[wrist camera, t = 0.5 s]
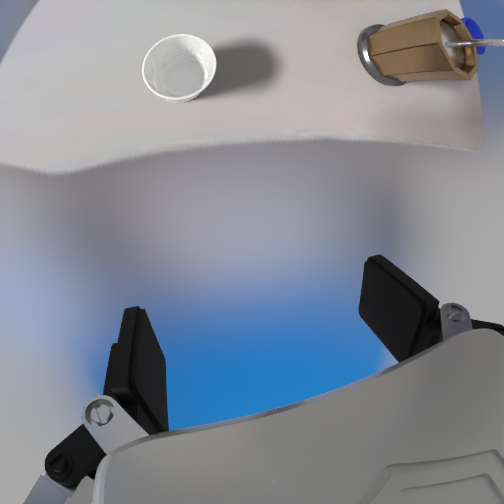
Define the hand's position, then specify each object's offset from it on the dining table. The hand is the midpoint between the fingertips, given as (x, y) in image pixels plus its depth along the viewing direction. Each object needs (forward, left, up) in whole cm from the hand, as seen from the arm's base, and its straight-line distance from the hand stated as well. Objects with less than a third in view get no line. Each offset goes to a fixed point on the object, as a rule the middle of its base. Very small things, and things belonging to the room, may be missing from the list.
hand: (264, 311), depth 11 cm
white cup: (-14, -3, -32) cm, 35 cm away
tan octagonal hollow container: (-23, +32, -32) cm, 51 cm away
